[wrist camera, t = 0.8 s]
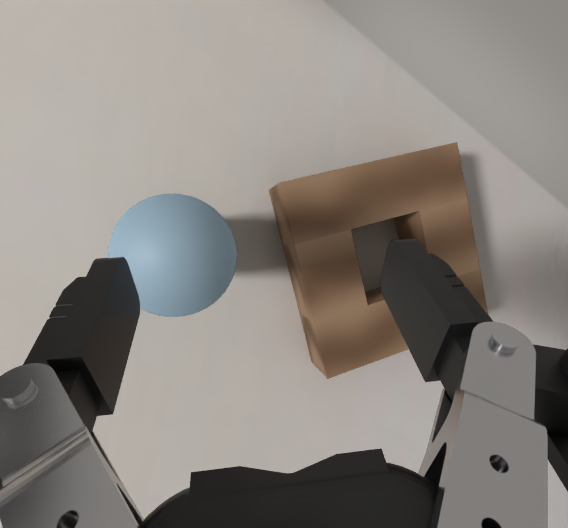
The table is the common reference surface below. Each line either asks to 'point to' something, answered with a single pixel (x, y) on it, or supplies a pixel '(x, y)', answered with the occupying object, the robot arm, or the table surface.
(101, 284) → the robot arm
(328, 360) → the socket block
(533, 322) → the table surface
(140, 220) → the peg
